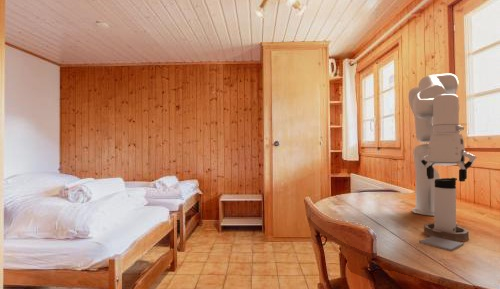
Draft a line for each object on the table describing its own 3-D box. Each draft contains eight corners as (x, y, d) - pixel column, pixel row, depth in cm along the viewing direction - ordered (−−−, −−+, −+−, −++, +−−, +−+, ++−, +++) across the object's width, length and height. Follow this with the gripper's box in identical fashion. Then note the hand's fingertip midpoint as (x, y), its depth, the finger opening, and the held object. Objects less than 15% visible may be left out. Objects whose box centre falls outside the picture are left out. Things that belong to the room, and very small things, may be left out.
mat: (432, 237, 98) (432, 235, 98) (463, 245, 91) (463, 243, 91) (419, 242, 93) (419, 240, 93) (451, 251, 85) (451, 249, 85)
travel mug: (460, 238, 97) (460, 179, 97) (438, 237, 98) (438, 178, 98) (451, 233, 103) (451, 177, 103) (431, 232, 104) (431, 176, 104)
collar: (434, 227, 109) (434, 219, 109) (474, 236, 99) (474, 226, 99) (417, 234, 102) (417, 224, 102) (458, 244, 91) (458, 233, 91)
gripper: (480, 129, 95) (480, 181, 95) (424, 132, 110) (424, 177, 109) (471, 128, 91) (471, 183, 91) (414, 131, 105) (414, 178, 105)
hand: (445, 179), depth 100 cm, fingers open, 9 cm apart
